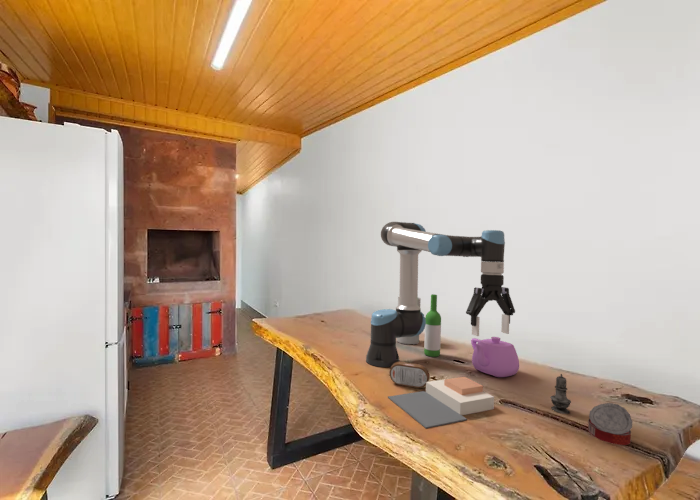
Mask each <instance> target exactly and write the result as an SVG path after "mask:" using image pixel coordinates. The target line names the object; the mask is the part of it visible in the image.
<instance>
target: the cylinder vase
mask: <svg viewBox="0 0 700 500" xmlns="http://www.w3.org/2000/svg"><path fill="white" fill-rule="evenodd" d="M421 300H422V299H421V297H418V301H417V305H418V306H419V307H420V308H421ZM398 305H399V296H397V306H398ZM396 342H398V343H399V344H401V345H402V344H403V345H408V344H413V345H417V344H419V342H420V335H417V336H413V337H400V338H396Z"/></svg>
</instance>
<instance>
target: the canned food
mask: <svg viewBox="0 0 700 500" xmlns="http://www.w3.org/2000/svg"><path fill="white" fill-rule="evenodd" d="M588 418H589V419H588V421H587V431H588V433H589V434H590V435H591V436H592V437H594V438H596V439H598V440H599V441H603V442H606V443H609V444H612V445H616V446H617V445H618V446H628V445H630V444H631V440H632V439H631V438H632V437H631V436H632V431H631V430H632V429H633V421H634V420H633V419H632V416H631V414H630V413H629V412H628V411H627V409H626V408H625V407H623V406H622V405H620V404H616V403H612V402H607V403H606V402H605V403H599V404H598V405H596V406H593V408H592V409H591V410H590V411H589V414H588Z"/></svg>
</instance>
